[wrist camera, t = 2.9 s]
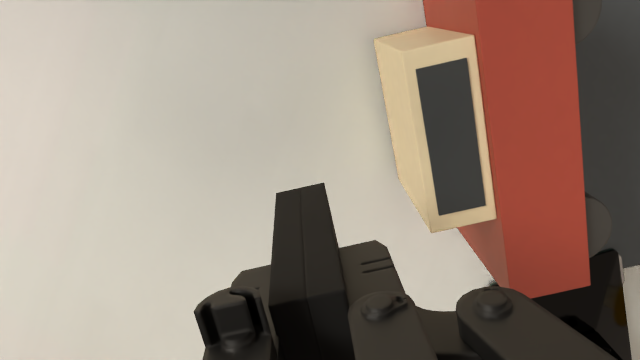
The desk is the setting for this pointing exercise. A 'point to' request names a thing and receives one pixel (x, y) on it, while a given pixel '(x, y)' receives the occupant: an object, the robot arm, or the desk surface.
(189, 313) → the desk surface
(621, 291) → the black angular block
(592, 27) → the toy car
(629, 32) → the mat
